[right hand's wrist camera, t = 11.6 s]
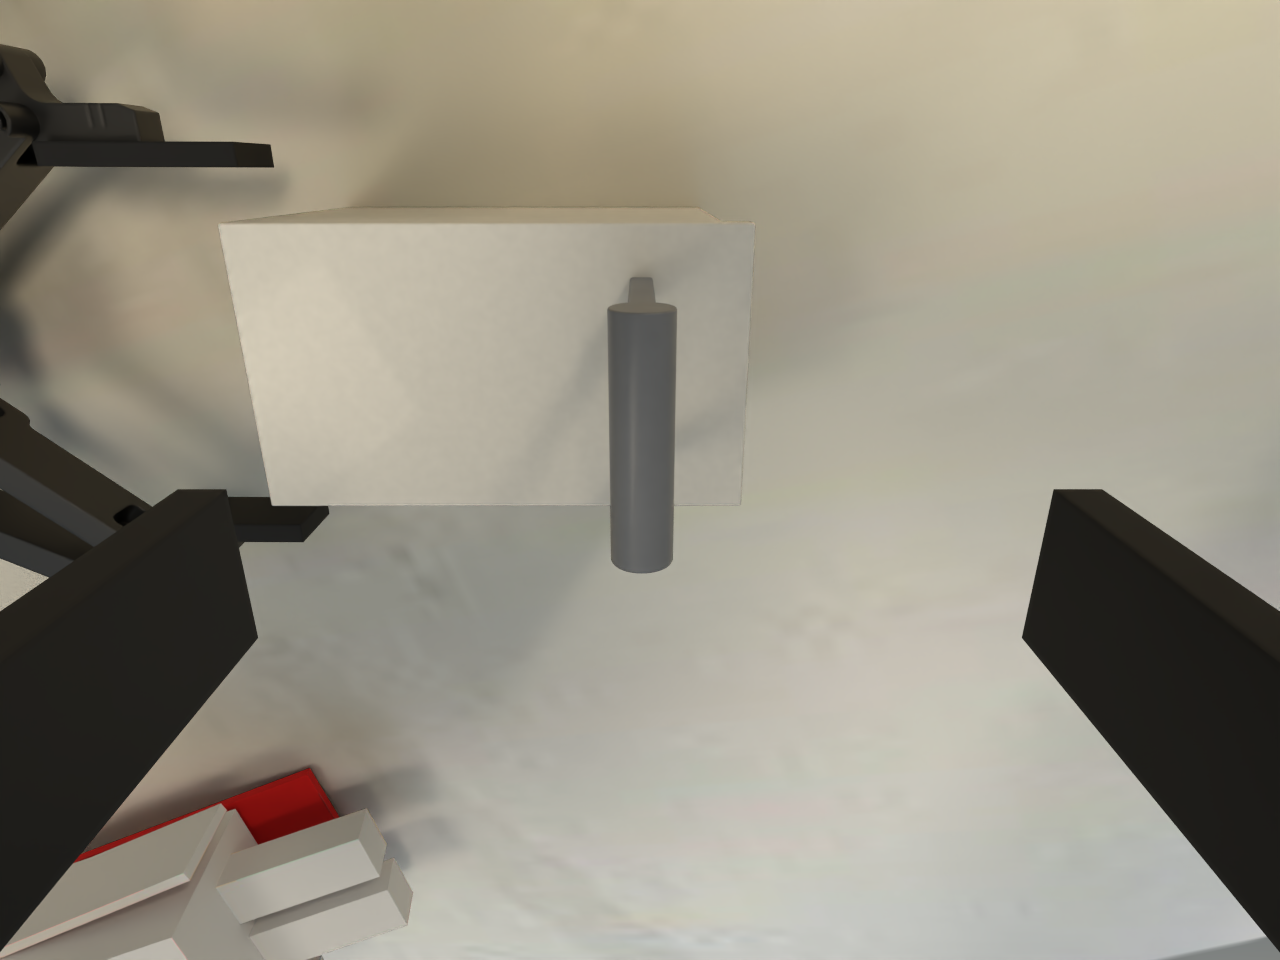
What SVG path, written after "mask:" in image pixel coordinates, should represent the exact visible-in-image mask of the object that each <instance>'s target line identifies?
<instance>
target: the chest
mask: <svg viewBox="0 0 1280 960" xmlns="http://www.w3.org/2000/svg"><path fill="white" fill-rule="evenodd" d="M239 221H720V220H719V219H717V218H715V217H714V216H712V215H710V214H709V213H707V212H705V211H704V210H702V209H701V208H699V207H346V208H338V209H330V210H322V211H313V212H305V213H297V214H289V215H280V216H272V217H264V218H256V219H248V220H239Z"/></svg>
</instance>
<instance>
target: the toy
mask: <svg viewBox="0 0 1280 960" xmlns="http://www.w3.org/2000/svg"><path fill="white" fill-rule="evenodd" d="M386 847H387V844H386V842H385V840H384V838H383V837H382V835H381V833H380V831H379V829H378V827H377V826H376V824H375V822H374V820H373V818H372V817H371V815H370V813H369V811H368V809H367V808H366V809H363V810H360V811H357V812H354V813H351V814H348V815H345V816H342V817H339V815H338V814H337V812H336V811H335V809H334V807H333V806H332V804H331V802H330V801H329V799H328V797H327V796H326V794H325V792H324V791H323V789H322V787H321V786H320V784H319V782H318V781H317V779H316V777H315V776H314V774H313V773H312V771H311V769H310V768H308V769H305V770H303V771H300V772H297V773H295V774H292V775H289V776H287V777H284V778H282V779H279V780H276V781H274V782H271V783H268V784H266V785H263V786H260V787H258V788H255V789H252V790H250V791H247V792H244V793H242V794H239V795H236V796H234V797H231V798H228V799H226V800H223V801H220V802H218V803H215V804H212V805H210V806H207V807H205V808H202V809H199V810H197V811H194V812H191V813H189V814H186V815H183V816H181V817H178V818H175V819H173V820H170V821H167V822H165V823H162V824H159V825H157V826H154V827H151V828H149V829H146V830H143V831H141V832H138V833H136V834H133V835H130V836H128V837H125V838H122V839H120V840H117V841H114V842H112V843H109V844H106V845H104V846H101V847H98V848H96V849H93V850H90V851H88V852H85V853H82V854H80V855H79V857H78V858H77V859H76V860H75V862H74V863H73V864H72V865H71V866H70V868H69V869H68V870H67V871H66V873H65V874H64V875H63V876H62V877H61V879H60V880H59V881H58V882H57V884H56V885H55V886H54V887H53V888H52V890H51V891H50V892H49V893H48V895H47V896H46V897H45V898H44V899H43V901H42V902H41V903H40V904H39V905H38V907H37V908H36V909H35V910H34V912H33V913H32V914H31V915H30V916H29V918H28V919H27V920H26V921H25V923H24V924H23V925H22V926H21V927H20V929H19V930H18V931H17V932H16V934H15V935H14V936H13V937H12V938H11V940H10V941H9V942H8V943H7V945H6V946H5V947H4V948H3V949H2V951H1V952H0V960H324V959H323V957H322V954H325V953H328V952H331V951H334V950H337V949H339V948H342V947H345V946H348V945H351V944H354V943H357V942H360V941H363V940H366V939H369V938H372V937H375V936H378V935H380V934H383V933H386V932H389V931H392V930H395V929H398V928H401V927H404V926H407V924H408V918H409V912H410V907H411V901H412V895H413V891H412V889H411V888H410V886H409V884H408V882H407V880H406V879H405V877H404V875H403V873H402V871H401V869H400V868H399V866H398V864H397V862H396V860H395V858H392V859H389V860H386V861H383V860H384V856H385V852H386ZM319 955H321V956H319ZM316 956H317V957H316Z"/></svg>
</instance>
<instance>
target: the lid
mask: <svg viewBox="0 0 1280 960" xmlns="http://www.w3.org/2000/svg"><path fill="white" fill-rule="evenodd" d="M218 229H219V234H220V239H221V244H222V249H223V255H224V260H225V265H226V270H227V275H228V281H229V286H230V291H231V296H232V301H233V307H234V312H235V317H236V322H237V327H238V333H239V338H240V343H241V348H242V353H243V359H244V364H245V369H246V374H247V379H248V385H249V390H250V395H251V400H252V405H253V411H254V416H255V421H256V426H257V431H258V437H259V442H260V447H261V452H262V457H263V463H264V468H265V473H266V478H267V483H268V489H269V494H270V499H271V504H272V506H610V522H611V560H612V562H613V564H614V565H615V566H616V567H618V568H619V569H621V570H624V571H627V572H632V573H652V572H657V571H660V570H663V569H665V568H666V567H668V566H669V565H670V564H671V562H672V560H673V520H674V506H739V505H740V504H741V495H742V476H743V457H744V438H745V419H746V400H747V381H748V362H749V343H750V324H751V305H752V286H753V267H754V249H755V230H756V225H755V223H753V222H750V221H231V222H223V223H219V224H218Z"/></svg>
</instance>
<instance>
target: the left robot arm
mask: <svg viewBox="0 0 1280 960" xmlns="http://www.w3.org/2000/svg"><path fill="white" fill-rule="evenodd" d="M45 77H46V71H45V66H44V64H43V62H42V60H41V59H40V58H39V57H38V56H37V55H36V54H35V53H33V52H31V51H30V50H26V49H21V48H16V47H12V46H7V45H2V44H0V230H1V229H2V228H3V226H4V225H5V224H6V223H7V222H8V220H9V219H10V218H11V217H12V216H13V214H14V213H15V212H16V211H17V210H18V208H19V207H20V206H21V205H22V204H23V203H24V201H25V200H26V199H27V198H28V197H29V195H30V194H31V193H32V192H33V191H34V189H35V188H36V187H37V186H38V185H39V184H40V182H41V181H42V180H43V179H44V178H45V176H46V175H47V174H48V173H49V172H50V170H51V169H52V168H53V167H54V166H71V167H274V164H273V158H272V152H271V145H269V144H255V143H242V142H165V141H164V136H163V131H162V126H161V121H160V116H159V113H157V112H155V111H152V110H150V109H147V108H145V107H142V106H134V105H126V104H119V103H62V102H60V101H59V100H58V99H56V98H55V97H54V96H53V95H52V93H51V92H50V90H49V89H48V87H47V85H46V84H45V82H44V81H45ZM29 424H30V419H29V418H28V417H27V416H26V415H25V414H24V413H22V412H21V411H19V410H18V409H16V408H15V407H13V406H12V405H10V404H9V403H7V402H5V401H4V400H2V399H1V398H0V489H2V490H0V558H1V559H3V560H6V561H8V562H11V563H13V564H16V565H19V566H21V567H24V568H26V569H29V570H31V571H34V572H37V573H39V574H42V575H44V576H47V577H49V578H50V577H51V576H53V575H54V574H56V573H57V572H59V571H60V570H61V569H63V568H64V567H66V566H67V565H69V564H70V563H72V562H73V561H75V560H76V559H77V558H79V557H80V556H82V555H83V554H85V553H86V552H88V551H89V550H91V549H92V548H93V547H95V546H96V545H98V544H99V543H101V542H102V541H104V540H105V539H107V538H108V537H109V536H111V535H112V534H114V533H115V532H117V531H118V530H120V529H121V528H123V527H124V526H125V525H127V524H128V523H130V522H131V521H133V520H134V519H136V518H137V517H139V516H140V515H141V514H143V513H144V512H146V511H147V510H149V509H150V508H152V506H150V505H149V504H147V503H146V502H144V501H142V500H141V499H139V498H138V497H136V496H135V495H133V494H132V493H130V492H129V491H127V490H126V489H124V488H123V487H121V486H119V485H118V484H116V483H115V482H113V481H112V480H110V479H109V478H107V477H106V476H104V475H103V474H101V473H100V472H98V471H96V470H95V469H93V468H92V467H90V466H89V465H87V464H86V463H84V462H83V461H81V460H80V459H78V458H76V457H75V456H73V455H72V454H70V453H69V452H67V451H66V450H64V449H63V448H61V447H60V446H58V445H57V444H55V443H53V442H52V441H50V440H49V439H47V438H46V437H44V436H43V435H41V434H40V433H38V432H37V431H35V430H34V429H32V428H31V427H30V425H29ZM228 500H229V505H230V509H231V514H232V519H233V523H234V528H235V533H236V537H237V542H238V547H240V546H241V545H242V544H243V543H244V542H304V541H305V540H306V539H307V538H308V536H309V535H310V534H311V533H312V532H313V531H314V530H315V529H316V528H317V527H318V525H319V524H320V523H321V522H322V521H323V520H324V519H325V518H326V517H327V516H328V514H329V509H328V506H272V504H271V499H270V497H228Z"/></svg>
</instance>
